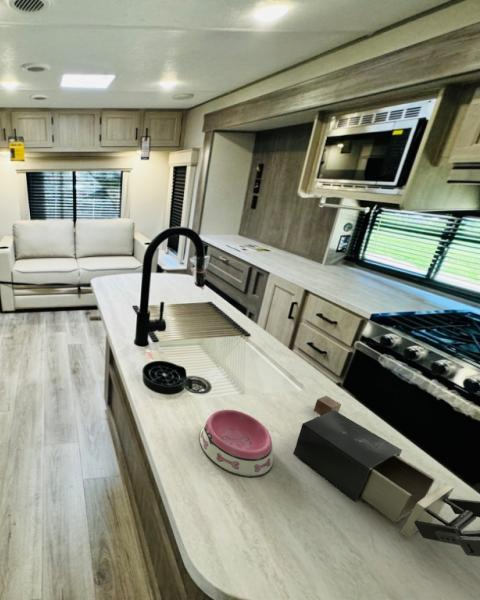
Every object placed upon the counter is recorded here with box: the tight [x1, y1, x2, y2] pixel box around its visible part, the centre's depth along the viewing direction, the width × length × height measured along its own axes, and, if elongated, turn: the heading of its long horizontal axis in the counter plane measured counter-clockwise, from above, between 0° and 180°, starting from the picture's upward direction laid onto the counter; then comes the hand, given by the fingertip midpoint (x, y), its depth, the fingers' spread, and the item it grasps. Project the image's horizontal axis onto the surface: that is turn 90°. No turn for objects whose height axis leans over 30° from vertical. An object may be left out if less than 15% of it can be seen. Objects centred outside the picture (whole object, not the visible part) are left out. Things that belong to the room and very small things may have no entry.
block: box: [313, 395, 342, 416], centre depth 97 cm, size 4×4×4 cm
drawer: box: [359, 455, 477, 538], centre depth 68 cm, size 18×11×9 cm, turn 22°
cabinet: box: [293, 410, 403, 503], centre depth 78 cm, size 15×13×11 cm
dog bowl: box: [198, 409, 274, 478], centre depth 85 cm, size 18×19×7 cm
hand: (435, 517), depth 63 cm, fingers closed on drawer, 11 cm apart
